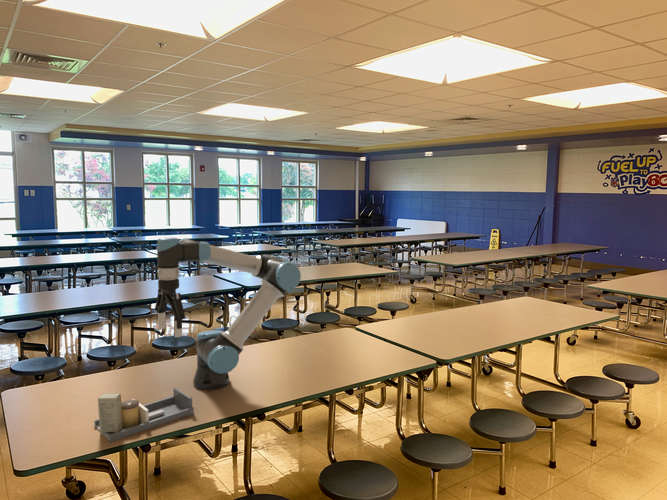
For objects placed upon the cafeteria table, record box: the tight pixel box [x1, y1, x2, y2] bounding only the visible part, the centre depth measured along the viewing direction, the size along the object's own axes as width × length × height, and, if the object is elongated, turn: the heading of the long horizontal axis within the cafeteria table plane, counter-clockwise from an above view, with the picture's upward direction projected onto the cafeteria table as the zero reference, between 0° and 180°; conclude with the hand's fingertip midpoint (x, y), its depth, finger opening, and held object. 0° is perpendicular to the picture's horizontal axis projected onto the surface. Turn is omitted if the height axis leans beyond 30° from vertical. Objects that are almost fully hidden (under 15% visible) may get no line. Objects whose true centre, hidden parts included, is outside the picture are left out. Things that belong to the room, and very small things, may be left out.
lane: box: [93, 387, 195, 443], centre depth 171 cm, size 15×30×6 cm, turn 135°
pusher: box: [130, 398, 164, 423], centre depth 172 cm, size 12×9×6 cm
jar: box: [121, 399, 140, 428], centre depth 167 cm, size 6×6×8 cm
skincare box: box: [97, 392, 123, 433], centre depth 162 cm, size 6×4×12 cm
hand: (170, 332), depth 181 cm, fingers open, 13 cm apart
